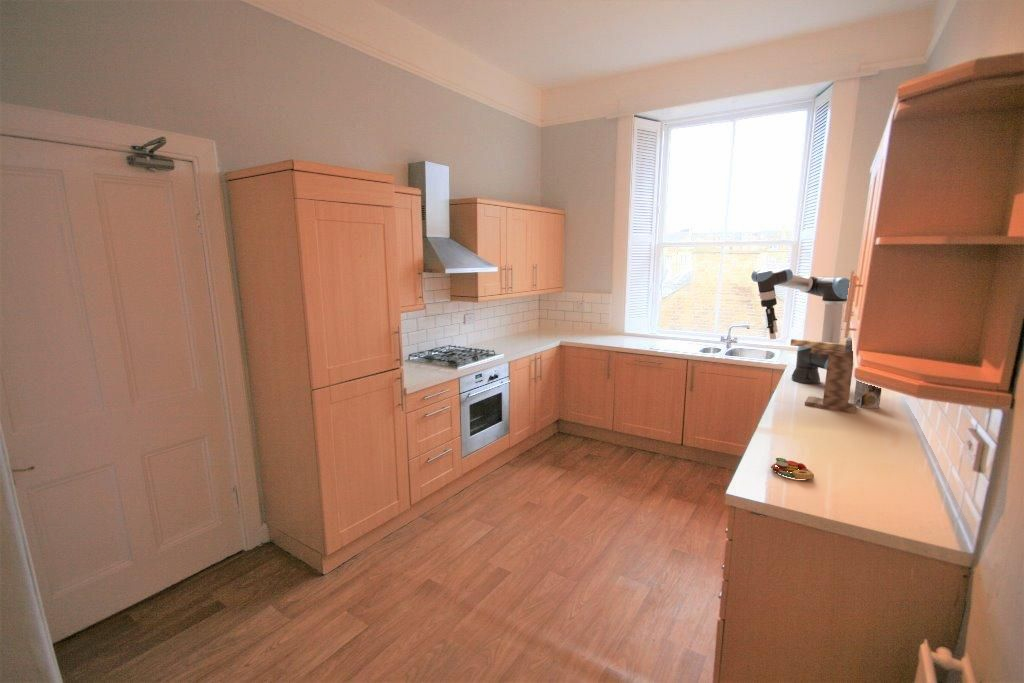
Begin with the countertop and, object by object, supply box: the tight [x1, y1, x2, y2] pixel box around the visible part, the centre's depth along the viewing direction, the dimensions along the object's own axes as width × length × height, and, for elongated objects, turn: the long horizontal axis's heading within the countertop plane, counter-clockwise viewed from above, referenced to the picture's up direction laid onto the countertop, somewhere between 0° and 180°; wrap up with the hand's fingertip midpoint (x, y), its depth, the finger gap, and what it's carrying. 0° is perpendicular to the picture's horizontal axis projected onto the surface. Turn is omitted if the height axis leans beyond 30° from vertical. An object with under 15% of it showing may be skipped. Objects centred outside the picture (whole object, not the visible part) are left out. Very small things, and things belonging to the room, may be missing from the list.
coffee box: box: [853, 379, 882, 409], centre depth 237 cm, size 9×6×16 cm
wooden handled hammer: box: [790, 337, 853, 353], centre depth 236 cm, size 30×10×6 cm, turn 49°
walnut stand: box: [804, 348, 858, 414], centre depth 236 cm, size 21×12×30 cm, turn 49°
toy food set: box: [770, 457, 815, 480], centre depth 166 cm, size 13×13×3 cm
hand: (774, 335), depth 256 cm, fingers open, 13 cm apart
